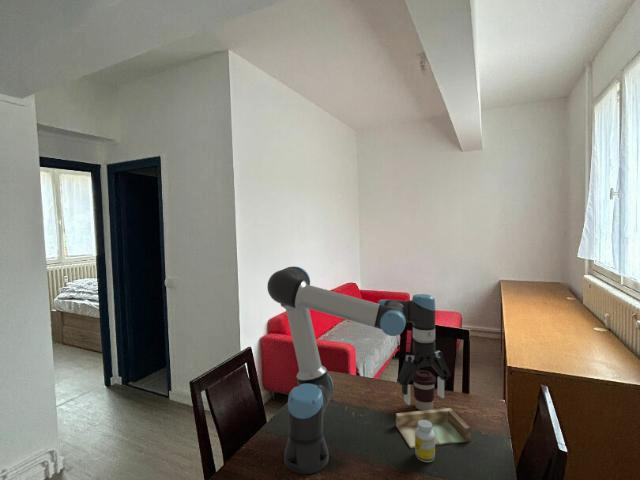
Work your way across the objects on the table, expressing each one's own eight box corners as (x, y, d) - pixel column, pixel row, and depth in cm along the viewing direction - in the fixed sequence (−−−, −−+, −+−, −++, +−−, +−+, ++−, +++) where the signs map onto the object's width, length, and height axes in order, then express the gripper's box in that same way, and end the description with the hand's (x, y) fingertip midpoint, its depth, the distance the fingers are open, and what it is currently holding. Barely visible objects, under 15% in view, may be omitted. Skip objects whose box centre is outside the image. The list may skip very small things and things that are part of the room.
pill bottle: (417, 448, 121) (417, 416, 120) (436, 454, 118) (436, 420, 117) (413, 459, 115) (412, 425, 115) (433, 465, 112) (432, 431, 112)
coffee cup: (438, 414, 142) (437, 379, 142) (413, 412, 144) (413, 377, 143) (433, 402, 152) (433, 369, 152) (411, 400, 154) (410, 368, 153)
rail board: (410, 448, 121) (410, 434, 121) (396, 425, 135) (395, 413, 135) (470, 441, 124) (470, 427, 124) (450, 420, 138) (450, 407, 138)
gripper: (397, 347, 111) (398, 411, 112) (461, 338, 119) (461, 398, 119) (386, 340, 118) (387, 400, 119) (447, 332, 126) (447, 389, 127)
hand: (424, 399), depth 119 cm, fingers open, 13 cm apart
